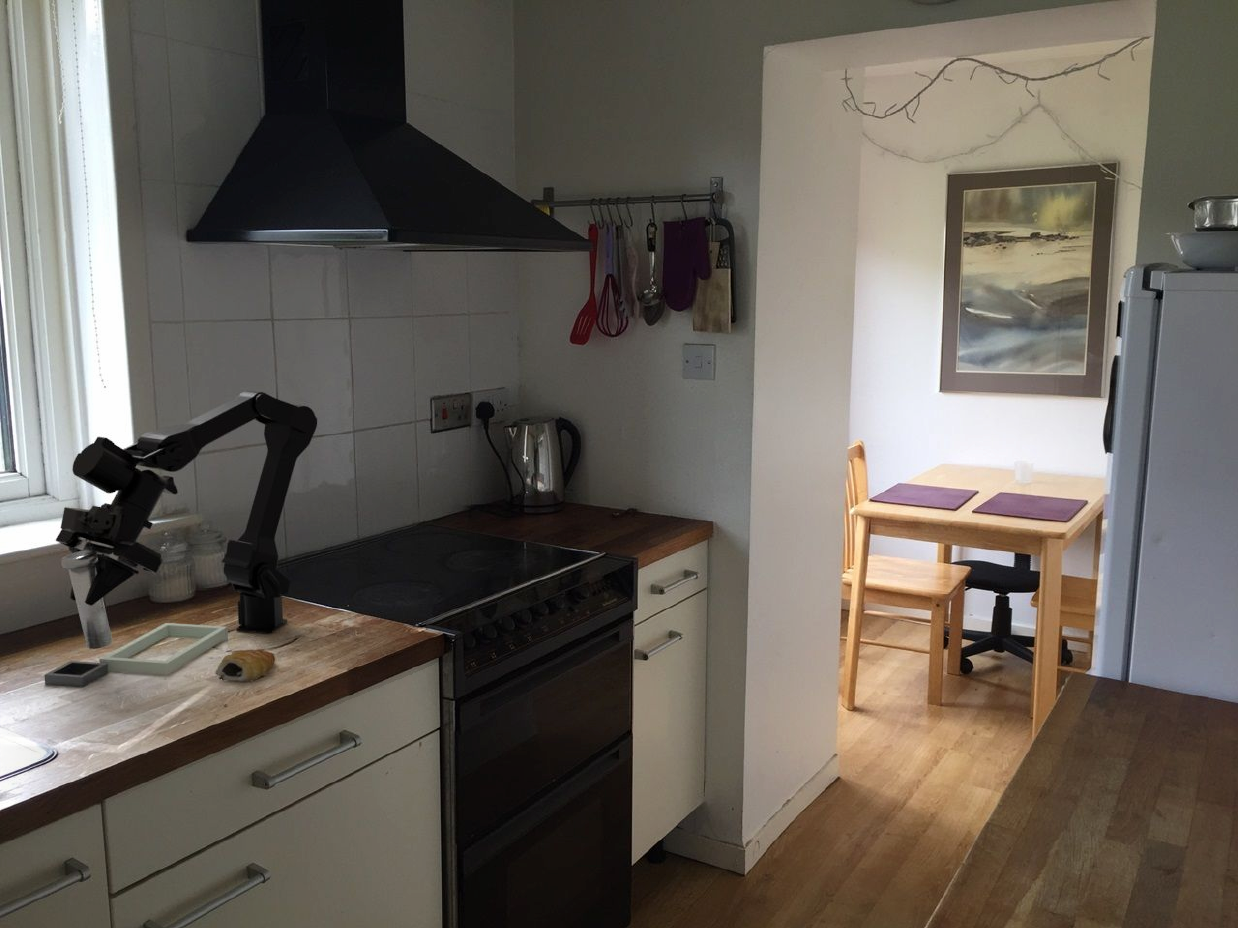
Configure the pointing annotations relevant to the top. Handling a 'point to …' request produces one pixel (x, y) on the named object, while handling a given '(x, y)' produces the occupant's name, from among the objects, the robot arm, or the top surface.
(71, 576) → the pin
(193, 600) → the top surface
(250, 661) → the pastry
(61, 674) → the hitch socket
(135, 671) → the tray
